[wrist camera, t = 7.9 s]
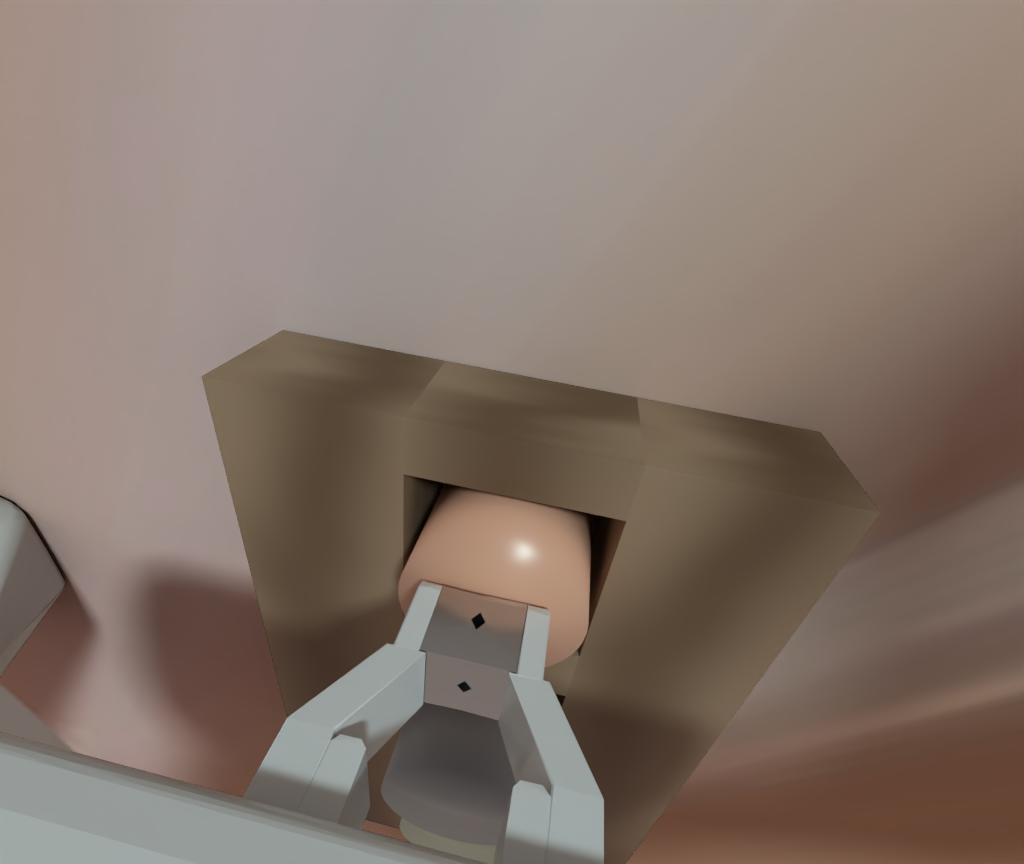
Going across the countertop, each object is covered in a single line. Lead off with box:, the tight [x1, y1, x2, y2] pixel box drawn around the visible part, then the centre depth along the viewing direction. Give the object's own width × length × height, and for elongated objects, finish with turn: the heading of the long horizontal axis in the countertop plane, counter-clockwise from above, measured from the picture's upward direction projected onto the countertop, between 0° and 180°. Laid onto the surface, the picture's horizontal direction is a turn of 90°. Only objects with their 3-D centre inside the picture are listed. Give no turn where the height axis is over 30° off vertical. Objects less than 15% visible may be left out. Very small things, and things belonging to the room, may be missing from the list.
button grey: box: [381, 702, 516, 845], centre depth 15 cm, size 4×4×3 cm
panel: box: [202, 330, 881, 864], centre depth 17 cm, size 14×22×3 cm, turn 173°
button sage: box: [399, 818, 496, 864], centre depth 19 cm, size 4×4×3 cm
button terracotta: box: [398, 483, 592, 667], centre depth 12 cm, size 4×4×3 cm
